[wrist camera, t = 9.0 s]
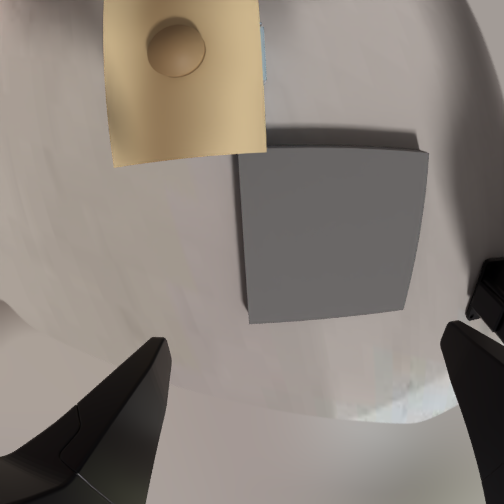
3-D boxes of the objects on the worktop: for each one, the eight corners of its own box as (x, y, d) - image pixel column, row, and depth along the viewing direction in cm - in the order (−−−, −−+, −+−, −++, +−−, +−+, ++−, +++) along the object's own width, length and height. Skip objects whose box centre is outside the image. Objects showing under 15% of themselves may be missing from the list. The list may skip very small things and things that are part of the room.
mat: (419, 150, 17) (429, 153, 16) (397, 301, 23) (403, 309, 22) (238, 147, 18) (237, 149, 16) (248, 313, 23) (249, 324, 22)
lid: (253, -26, 10) (255, -50, 7) (263, 146, 14) (267, 154, 11) (120, -6, 10) (99, -22, 7) (129, 159, 14) (108, 170, 11)
